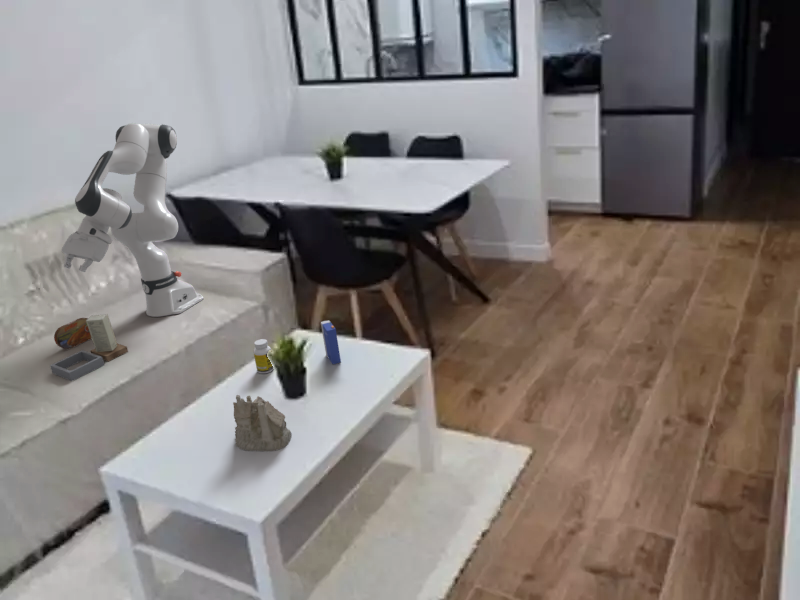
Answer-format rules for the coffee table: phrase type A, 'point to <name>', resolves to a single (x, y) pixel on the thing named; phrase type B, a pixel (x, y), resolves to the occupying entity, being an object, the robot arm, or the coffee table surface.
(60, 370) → the bin
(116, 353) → the riser
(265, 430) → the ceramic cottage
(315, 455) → the coffee table surface
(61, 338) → the tin
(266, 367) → the supplement bottle
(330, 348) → the walkman
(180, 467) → the coffee table surface
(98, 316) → the skincare box
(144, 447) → the coffee table surface
